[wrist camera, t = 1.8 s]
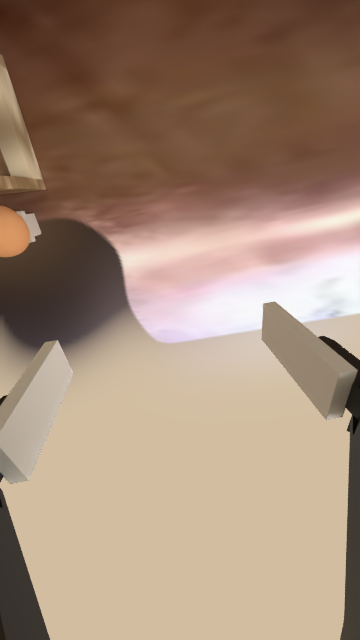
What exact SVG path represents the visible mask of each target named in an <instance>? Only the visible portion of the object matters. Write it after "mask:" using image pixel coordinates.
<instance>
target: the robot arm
mask: <svg viewBox="0 0 360 640" xmlns="http://www.w3.org/2000/svg"><path fill="white" fill-rule="evenodd" d="M262 340H263V341H264V343H265V344H266V345H267V346H268V348H269V349H270V350H271V351H272V352H273V354H274V355H275V356H276V358H277V359H278V360H279V361H280V363H281V364H282V365H283V366H284V368H285V369H286V370H287V371H288V373H289V374H290V375H291V377H292V378H293V379H294V380H295V382H296V383H297V384H298V385H299V387H300V388H301V389H302V390H303V392H304V393H305V394H306V395H307V397H308V398H309V399H310V400H311V402H312V403H313V404H314V405H315V407H316V408H317V409H318V410H319V412H320V413H321V414H322V416H323V417H324V418H325V419H326V420H330V419H334V418H339V417H343V414H344V411H345V408H347V409H348V410H349V412H350V413H351V414H352V417H351V420H350V423H349V425H348V429H347V431H349V432H350V454H349V485H348V486H349V488H348V518H347V549H346V550H347V552H346V581H345V582H346V583H345V612H344V623H343V629H342V633H341V638H340V640H360V360H359V359H358V358H356V357H355V356H354V355H352V354H351V353H349V352H348V351H347V350H346V349H345V348H342V346H341V345H340V344H338V343H337V342H336V341H334V340H332V339H330V338H327V337H325V336H320V337H317V336H316V335H314V334H313V333H312V332H311V331H310V330H308V329H307V328H306V327H305V326H304V325H302V324H301V323H300V322H299V321H298V320H296V319H295V318H294V317H293V316H292V315H290V314H289V313H288V312H287V311H286V310H284V309H283V308H282V307H281V306H280V305H278V304H277V303H276V302H270V303H265V304H263V323H262ZM72 376H73V371H72V369H71V367H70V366H69V363H68V361H67V359H66V357H65V355H64V353H63V351H62V348H61V347H60V344H59V342H58V341H57V340H56V341H51V342H45V343H44V345H43V346H42V347H41V349H40V350H39V352H38V353H37V355H36V356H35V357H34V359H33V360H32V362H31V363H30V365H29V366H28V367H27V369H26V370H25V372H24V373H23V374H22V376H21V377H20V379H19V380H18V382H17V383H16V384H15V386H14V387H13V389H12V390H11V391H10V393H9V394H8V395H6V396H3V397H2V398H1V399H0V482H1V480H2V478H3V477H4V478H5V479H6V480H7V481H8V482H9V483H10V484H13V483H18V482H23V481H28V480H29V479H30V476H31V474H32V471H33V469H34V467H35V465H36V462H37V460H38V457H39V455H40V453H41V450H42V447H43V445H44V443H45V441H46V438H47V436H48V433H49V431H50V429H51V426H52V424H53V421H54V419H55V417H56V414H57V412H58V410H59V407H60V405H61V403H62V400H63V398H64V395H65V393H66V391H67V388H68V386H69V383H70V381H71V378H72ZM0 640H50V638H49V635H48V632H47V629H46V626H45V623H44V619H43V616H42V613H41V610H40V607H39V604H38V601H37V597H36V594H35V591H34V588H33V585H32V582H31V579H30V576H29V573H28V570H27V566H26V563H25V560H24V557H23V554H22V551H21V547H20V544H19V541H18V538H17V535H16V532H15V529H14V526H13V523H12V520H11V516H10V513H9V510H8V507H7V504H6V501H5V498H4V495H3V492H2V490H1V489H0Z"/></svg>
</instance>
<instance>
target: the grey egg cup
mask: <svg viewBox="0 0 360 640" xmlns="http://www.w3.org/2000/svg"><path fill="white" fill-rule="evenodd" d="M16 213H18V214H19V215H20V216H21V217H22V218H23V220H24V221H25V222H26V224H27V226H28V228H29V232H30V241H29V242H34V241H36V240H35V238H34V236H37V235H40V234H41V231H40V228H39V226H38V223H37V220H36V217H35V214H34V213H31V214H25V211H17V212H16Z"/></svg>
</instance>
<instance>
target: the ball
mask: <svg viewBox="0 0 360 640" xmlns="http://www.w3.org/2000/svg"><path fill="white" fill-rule="evenodd" d="M29 241H30V232H29V228H28V226H27V224H26V222H25V221H24V220H23V218H22V217H21V216H20V215H19V214H18V213H16V212H15V211H13V210H12V209H10V208H8V207H5V206H2V205H0V257H12V256H15V255H18V254H20V253H22V252H23V251H24V250H25V249H26V248H27V246H28V244H29Z"/></svg>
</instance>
